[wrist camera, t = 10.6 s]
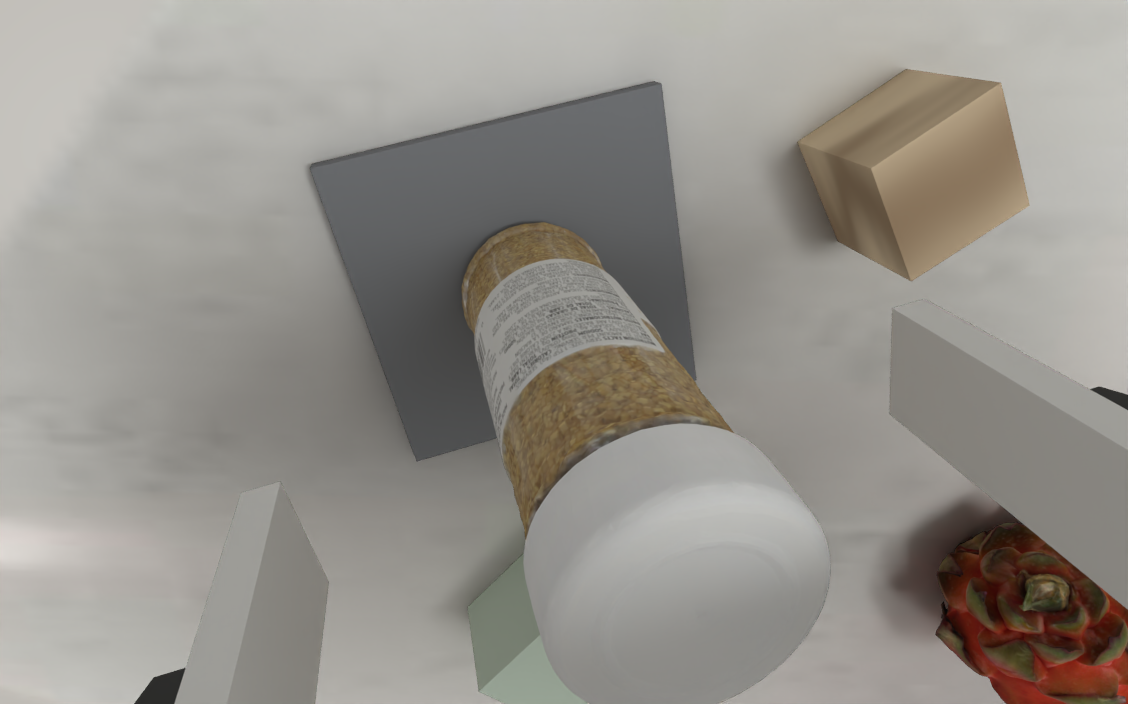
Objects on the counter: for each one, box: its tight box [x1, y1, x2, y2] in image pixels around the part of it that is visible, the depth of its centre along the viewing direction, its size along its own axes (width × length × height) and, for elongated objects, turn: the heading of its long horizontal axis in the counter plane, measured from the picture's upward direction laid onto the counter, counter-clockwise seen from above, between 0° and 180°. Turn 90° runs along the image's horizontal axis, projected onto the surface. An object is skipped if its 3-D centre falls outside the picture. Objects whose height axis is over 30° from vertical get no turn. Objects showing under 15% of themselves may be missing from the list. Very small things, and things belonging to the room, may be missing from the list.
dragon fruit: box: [935, 523, 1128, 704], centre depth 31 cm, size 8×8×12 cm
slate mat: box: [310, 81, 696, 461], centre depth 22 cm, size 10×10×1 cm
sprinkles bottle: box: [461, 222, 831, 704], centre depth 16 cm, size 5×5×14 cm
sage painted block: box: [468, 553, 587, 704], centre depth 27 cm, size 4×5×4 cm
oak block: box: [797, 69, 1029, 281], centre depth 22 cm, size 4×4×4 cm
